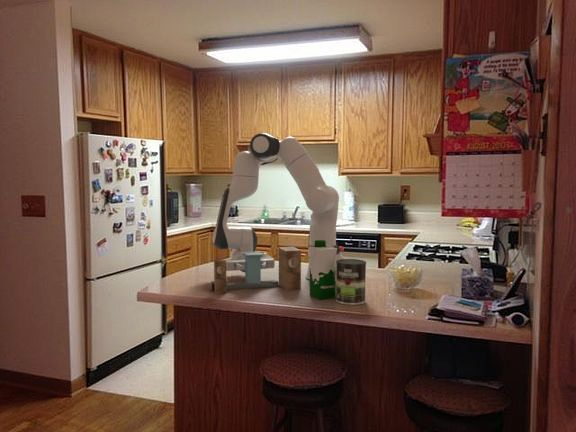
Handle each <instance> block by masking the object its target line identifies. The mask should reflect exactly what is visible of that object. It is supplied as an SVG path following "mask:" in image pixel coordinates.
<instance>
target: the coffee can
mask: <svg viewBox="0 0 576 432" xmlns="http://www.w3.org/2000/svg"><path fill="white" fill-rule="evenodd" d="M336 264H337V272H336V282H335V291H336V298H335V302H336V303H338V304H340V305H346V306H358V305H359V306H360V305H364V304H365V303H366V279H367V278H366V274H367V273H366V271H367V262H366V261H365V260H363V259H357V258H356V259H355V258H346V259H340V260H337V261H336Z"/></svg>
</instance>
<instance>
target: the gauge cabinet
mask: <svg viewBox="0 0 576 432" xmlns="http://www.w3.org/2000/svg"><path fill="white" fill-rule="evenodd" d="M278 286H280V287H281V288H282V289H284V290H285V291H292V290H301V289H302V250H301V249H298V248H297V247H295V246H282V247H281V246H280V247H278Z"/></svg>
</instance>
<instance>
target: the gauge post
mask: <svg viewBox="0 0 576 432" xmlns="http://www.w3.org/2000/svg"><path fill="white" fill-rule="evenodd" d="M225 260H226V259H215V260H213V281H214V291H213V293H214V294H215V295H222V294H227V291H228V290H227V289H226V283H227V271H226V261H225Z"/></svg>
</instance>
